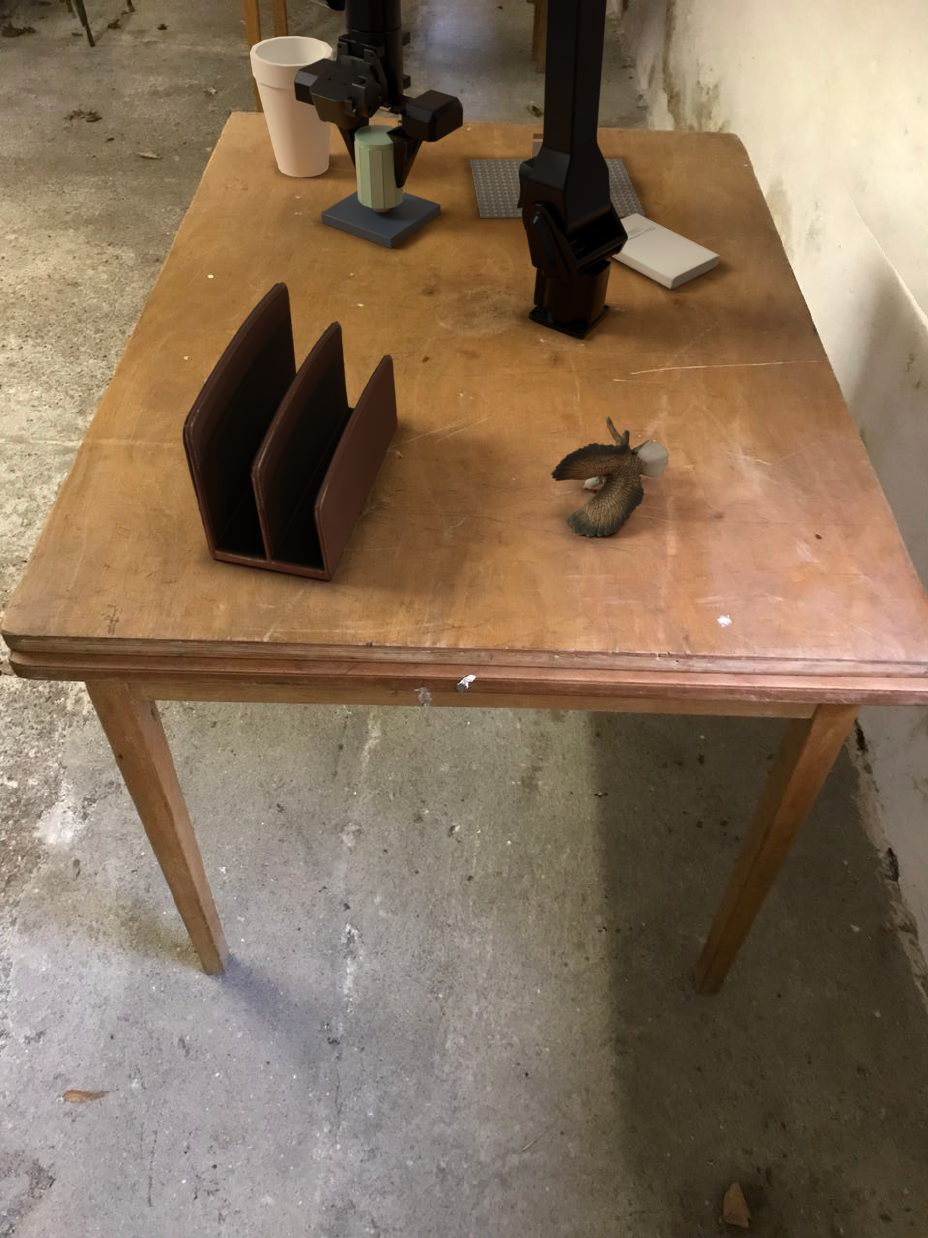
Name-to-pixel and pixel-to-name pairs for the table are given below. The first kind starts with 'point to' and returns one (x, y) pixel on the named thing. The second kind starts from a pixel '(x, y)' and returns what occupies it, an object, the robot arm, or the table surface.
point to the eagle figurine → (610, 480)
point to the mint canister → (376, 168)
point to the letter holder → (285, 445)
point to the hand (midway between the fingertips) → (380, 179)
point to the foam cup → (291, 104)
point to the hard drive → (663, 253)
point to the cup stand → (381, 218)
